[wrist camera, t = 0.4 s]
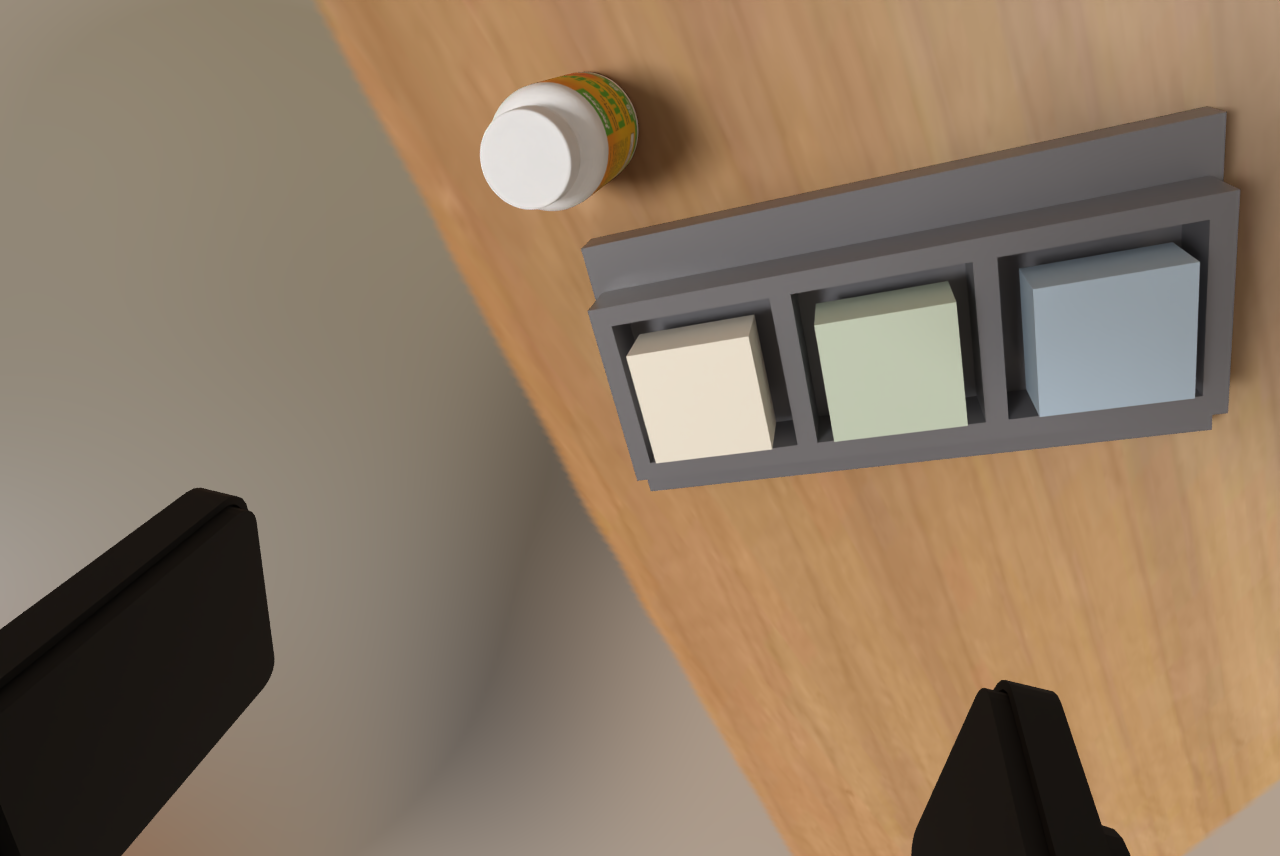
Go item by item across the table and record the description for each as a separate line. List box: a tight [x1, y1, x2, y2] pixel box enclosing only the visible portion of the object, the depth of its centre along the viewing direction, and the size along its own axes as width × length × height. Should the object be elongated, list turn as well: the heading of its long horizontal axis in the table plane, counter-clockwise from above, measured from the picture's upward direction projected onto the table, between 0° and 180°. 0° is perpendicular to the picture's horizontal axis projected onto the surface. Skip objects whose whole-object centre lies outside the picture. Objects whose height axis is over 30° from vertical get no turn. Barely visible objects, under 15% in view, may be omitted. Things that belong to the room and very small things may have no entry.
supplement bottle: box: [480, 72, 638, 211], centre depth 37 cm, size 5×5×10 cm
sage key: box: [814, 281, 968, 442], centre depth 38 cm, size 6×6×3 cm
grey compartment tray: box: [581, 106, 1240, 491], centre depth 40 cm, size 15×29×5 cm, turn 105°
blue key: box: [1019, 242, 1200, 417], centre depth 35 cm, size 6×6×3 cm
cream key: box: [626, 315, 776, 463], centre depth 40 cm, size 6×6×3 cm
